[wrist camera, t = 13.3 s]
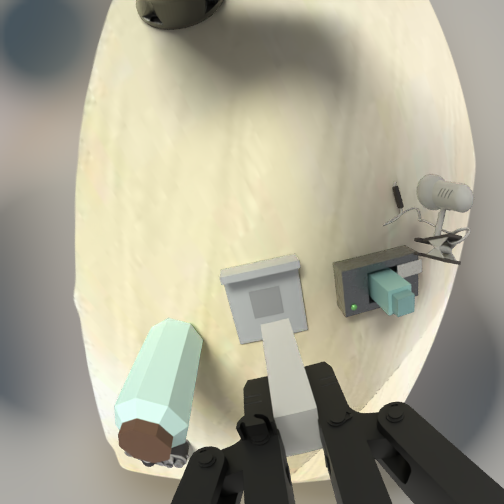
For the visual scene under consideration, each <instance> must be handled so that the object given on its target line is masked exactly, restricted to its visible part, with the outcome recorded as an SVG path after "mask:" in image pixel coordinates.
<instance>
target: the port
mask: <svg viewBox="0 0 504 504" xmlns="http://www.w3.org/2000/svg"><path fill="white" fill-rule="evenodd" d="M414 252H417V251H415V250H413V249H411V248H409V247H407V246H405V245H404V246H400V247H396V248H392V249H388V250H384V251H380V252H376V253H372V254H368V255H364V256H359V257H355V258H351V259H347V260H343V261H339V262H334V263H333V268H334V277H335V285H336V294H337V304H338V307H339V308H340V309H341V311H342V312H343V314H344V315H345V317H348V316H352V315H355V314H359V313H363V312H366V311H369V310H373V309H376V308H380V306H379V305H378V304H377V303H376V302H375V301H374V300H373V299H372V298H371V297H370V296H369V292H368V276H367V273H369V272H373V271H377V270H381V269H384V268H388V267H389V268H390V269H391V270H393V271H394V272H395V273H397V274H398V275H400V276H401V277H402V278H404V279H405V280H406V281H408V282H409V283H410V284H411V292H412V293H414V294H415V296H417V295H418V273H421V272H422V259H418V255H413V254H414Z"/></svg>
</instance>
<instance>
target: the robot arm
mask: <svg viewBox="0 0 504 504" xmlns="http://www.w3.org/2000/svg"><path fill="white" fill-rule="evenodd" d="M222 2H223V0H136V8H137V11H138V14H139V15H140V17H141V18H142V19H143V20H144V21H145V22H146V23H147V24H149V25H151V26H153V27H156V28H160V29H169V30H170V29H181V28H186V27H189V26H193V25H195V24H198V23H200V22H202V21H204V20H205V19H207V18H208V17H210V16H211V15H212V14H213V13H214V12H216V10H217V9H218V8H219V7H220V5H221V4H222ZM261 332H262V339H263V346H264V353H265V360H266V367H267V374H268V376H266V377H261V378H257V379H252V380H248V381H247V383H246V385H245V387H244V389H243V390H244V416H243V417H242V418H241V419H240V420H239V421H238V422H237V426H236V429H237V431H238V433H239V435H240V438H241V439H240V441H238V442H237V443H236V444H234V445H232V446H230V447H227V448H225V449H222V450H220V449H218V448H216V447H212V446H211V447H203V448H201V449H198V450H197V451H196V452H194V453H193V455H192V456H191V458H190V460H189V462H188V464H187V467H186V469H185V472H184V474H183V476H182V479H181V481H180V484H179V486H178V488H177V491H176V493H175V495H174V497H173V500H172V503H171V504H240V501H241V498H242V494H243V491H244V501H245V504H295V500H294V494H293V488H292V482H291V476H290V471H289V466H288V463H287V458H286V457H288V456H292V455H297V454H302V453H306V452H310V451H314V450H318V449H322V448H323V450H324V455H325V462H326V467H327V468H328V472H329V475H330V479H331V483H332V486H333V490H334V494H335V498H336V501H337V504H392V502H391V499H390V497H389V494H388V492H387V489H386V487H385V484H384V482H383V480H382V477H381V474H380V472H379V469H378V467H377V464H376V462H375V460H374V459H376V460H377V461H378V462H379V463H380V464H381V466H382V467H383V468H384V469H385V470H386V472H387V473H388V474H389V475H390V476H391V477H392V479H393V480H394V481H395V482H396V483H397V485H398V486H399V487H400V488H401V489H402V490H403V491H404V493H405V494H406V495H407V496H408V497H409V498H410V499H411V501H412V502H413V503H414V504H504V489H503V488H502V487H501V486H500V485H499V484H498V483H496V482H495V481H494V480H493V479H492V478H490V477H489V476H488V475H487V474H486V473H485V472H483V470H481V469H480V468H479V467H478V466H477V465H476V464H475V463H473V462H472V461H471V460H470V459H469V458H468V457H467V456H465V455H464V454H463V453H462V452H461V451H460V450H458V449H457V448H456V447H455V446H454V445H453V444H452V443H451V442H450V441H448V440H447V439H446V438H445V437H444V436H443V435H442V434H441V433H439V432H438V431H437V430H436V429H435V428H434V427H433V426H431V425H430V424H429V423H428V422H427V421H426V420H425V419H424V418H422V417H421V416H420V415H419V414H418V413H417V412H416V411H415V410H414V409H412V408H411V407H410V406H409V405H407V404H405V403H402V402H391V403H389V404H386V405H385V406H383V407H382V408H381V409H380V411H379V412H377V413H359V412H356V411H354V410H352V409H351V408H350V407H349V405H348V404H347V401H346V399H345V397H344V394H343V392H342V390H341V387H340V385H339V383H338V380H337V378H336V376H335V374H334V371H333V369H332V367H331V366H330V365H328V364H327V363H326V362H321V363H317V364H313V365H309V366H305V367H304V365H303V362H302V359H301V355H300V352H299V349H298V346H297V343H296V340H295V337H294V334H293V330H292V327H291V324H290V321H289V318H287V319H283V320H279V321H275V322H271V323H267V324H262V325H261Z"/></svg>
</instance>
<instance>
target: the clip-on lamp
mask: <svg viewBox="0 0 504 504" xmlns="http://www.w3.org/2000/svg"><path fill="white" fill-rule="evenodd" d="M392 188H393V192H394V195H395V199H396V202H397V206H398V208H400V214H399V215H397V216H396V217H394V218H393V219H391V220H390V221H388V222H387V223H385V224H383V226H385V225H387V224H390V223H392V222H394V221H395V220H397V219H398V218H399V217H400V216H401V215H402V214H403V213H405V212H407V211H409V210H411V209H416V210H417V212H418V220H419V221H420V222H422V221H423V222H426V223H428V224H430V225H432V226H433V227H435V232H434V237H429V238H424V239H423V238H414V241H416V242H421V243H425V244H430V245H433V246H434V247H435V248H434V249H433V250H432V251H430V252H429V253H427V254H424V253H418V252H414V254H413V255H418V256H424V257H428V258H432V259H435V260H439V261H443V262H447V263H453V264H458V265H460V263H461V262H460V261H456V259H455V257H454V256H453V254H452V249H453V248H454V247H455V245H456V244H458V243H460V242H462V241H463V240H465V239H466V238H467V237H468V236H469V234H470V228H460V229H457V230H455V231H453V232H449V231H446V230H443V229H442V226H443V221H444V217H445V212H446V210H454V211H458V212H463V213H464V212H466V211H468V210H469V209H470V208H471V207H472V205H473V201H474V196H473V192H472V190H471V189H470V187H469V186H467V185H466V184H461V183H455V182H449V181H445V180H444V179H443V178H442V177H440V176H438V175H434V174H429V175H426V176H424V177H423V178H422V179H421V180H420V181H419V183H418V186H417V197H418V199H419V202H420V203H421V204H422V205H423V206H424V207H425V208H427V209H430V210H438V209H440V212H439V214H438V219H437V224H436V226H435V225H433V224H432V223H430V222H428V221H426V220H423V219H421V214H420V211H419V209H418V208H416V207H414V208H410V209H408V210H406V211H404V212H402V211H403V210H402V208H403V207H404V206H403V202H402V201H403V200H402V198H401V195H400V191H399V188H398V186H396V182H395V181H394V184H393V187H392ZM464 230H469V232H468V233H467V234H466V235H465V236H464V237H463V238H462V236H459V235H455V234H456V233H458V232H460V231H464ZM441 231H443V232H446V233H448V234H445V235H441ZM442 253H443V254H442Z"/></svg>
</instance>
